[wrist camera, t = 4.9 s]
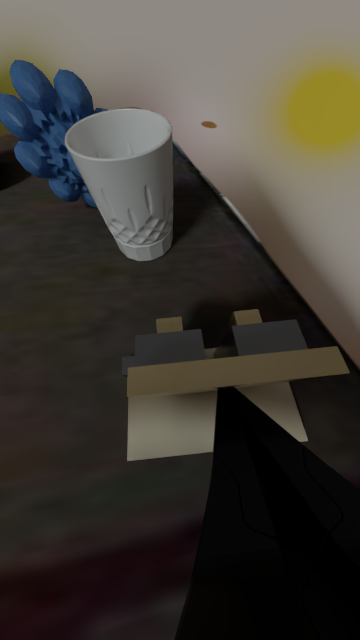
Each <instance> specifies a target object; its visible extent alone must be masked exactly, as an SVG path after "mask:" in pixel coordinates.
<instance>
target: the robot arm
mask: <svg viewBox="0 0 360 640" xmlns="http://www.w3.org/2000/svg"><path fill="white" fill-rule="evenodd" d="M175 640H360V489H359V488H357V487H356V486H354V485H353V484H352V483H350V482H349V481H348V480H346V479H345V478H344V477H343V476H341V475H340V474H339V473H337V472H336V471H335V470H333V469H332V468H331V467H329V466H328V465H327V464H326V463H325V462H323V461H322V460H321V459H320V458H318V457H317V456H316V455H315V454H314V453H312V452H311V451H310V450H309V449H308V448H306V447H305V446H304V445H303V446H302V444H301V443H300V442H299V441H298V440H297V439H296V438H294V437H293V436H292V435H291V434H290V433H288V432H287V431H286V430H285V429H284V428H283V427H281V426H280V425H279V424H278V423H277V422H275V421H274V420H273V419H272V418H271V417H270V416H268V415H267V414H266V413H265V412H264V411H262V410H261V409H260V408H259V407H258V406H256V405H255V404H254V403H253V402H252V401H251V400H249V399H248V398H247V397H246V396H245V395H243V394H242V393H241V392H240V391H239V390H237V389H236V388H235V387H229V388H219V389H217V402H216V416H215V430H214V444H213V457H212V469H211V479H210V486H209V492H208V498H207V503H206V509H205V514H204V519H203V524H202V529H201V534H200V539H199V544H198V549H197V554H196V559H195V564H194V568H193V573H192V577H191V581H190V585H189V589H188V593H187V597H186V600H185V604H184V607H183V611H182V615H181V618H180V622H179V625H178V629H177V633H176V636H175Z"/></svg>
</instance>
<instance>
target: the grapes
mask: <svg viewBox="0 0 360 640" xmlns="http://www.w3.org/2000/svg"><path fill="white" fill-rule="evenodd" d="M10 76H11V80H12V83H13V86H14V88H15V90H16V92H17V93H18V95H19V96H20V97H21V99H22V100H23V102H22V101H21V100H20V99H18V98H17V97H16V96H13V95H7V94H0V121H1V122H2V123H3V125H4V126H5V127H6V128H7V129H8V131H9V132H11V133H12V134H14V135H15V136H17V137H18V138H20V139H21V140H23V141H18V143H17V145H16V146H15V148H14V152H15V156H16V159H17V160H18V161H19V163H20V164H21V165H22V166H23V167H24V169H25V170H26V171H28V172H29V173H31V174H33V175H35V176H37V177H39V178H49V180H48V181H49V185H50V188H51V189H52V191H53V192H54V193H55V194H56V196H58V197H59V198H61V199H63V200H65V201H68V202H74V201H77V200H78V199H79V197H80V195H81V197H82V199H83V200H84V202H85V203H86V204H88V205H89V206H91V207H93V208H97V206H96V204H95V202H94V200H93V198H92V196H91V194H90V192H89V190H88V188H87V186H86V184H85V182H84V180H83V178H82V176H81V174H80V173H79V171H78V169H77V167H76V165H75V163H74V161H73V159H72V157H71V155H70V153H69V151H68V149H67V147H66V145H65V135H66V133H67V131H68V130H69V129H70V128H71V127H72V126H73V125H74V124H75V123H77V122H78V121H80V120H82V119H84V118H86V117H88V116H90V115H93V114H96V113H99V112H103V111H108V110H107V109H102V108H96V110H95V111H94V109H93V102H92V96H91V95H90V93H89V91H88V89H87V87H86V86H85V84H84V83H83V81H82V80H81V79H80V78H79V77H78V76H77V75H75V74H74V73H73V72H70V71H68V70H59V71H58V73H57V74H56V76H55V78H54V80H53V81H54V87H55V89H54V88H53V86H52V84H51V83H50V81H49V80H48V78H47V77H46V76H45V75H44V74H43V73H42V72H41V71H40V70H39V69H38V68H37V67H35V66H34V65H33V64H31V63H29V62H26V61H22V60H15V61H14V63H13V64H12V65H11V68H10Z"/></svg>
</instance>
